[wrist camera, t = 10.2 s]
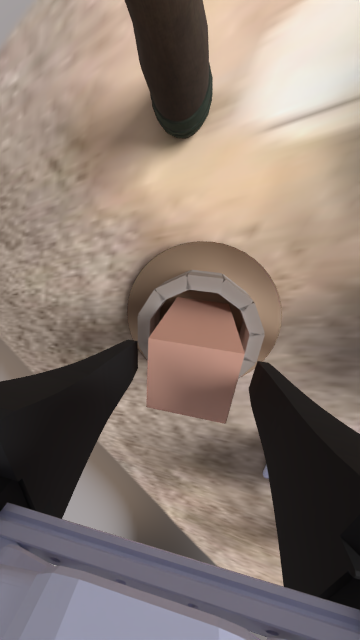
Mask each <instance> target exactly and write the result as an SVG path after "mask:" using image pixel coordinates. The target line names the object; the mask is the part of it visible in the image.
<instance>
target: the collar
mask: <svg viewBox="0 0 360 640" xmlns="http://www.w3.org/2000/svg"><path fill="white" fill-rule="evenodd" d="M177 297H182V298H189V299H197V300H204V301H211V302H219V303H226V304H229V306H230V309H231V312H232V315H233V318H234V322H235V325H236V328H237V331H238V334H239V337H240V340H241V343H242V347H243V350H244V353H245V355H244V359H243V363H242V366H241V370H240V373H239V377H238V379H239V378H240V377H242V376H244V375H245V374H247V373H249V372H250V371H252V370H253V369H255V367H256V364H257V361H260V362H262V361H263V360H264V359H265V358H266V357H267V356H268V354H269V353H270V351H271V350H272V348H273V346H274V345H275V342H276V340H277V338H278V335H279V331H280V327H281V319H282V311H281V302H280V297H279V294H278V291H277V289H276V286H275V284H274V282H273V281H272V279H271V277H270V275H269V274H268V273H267V272H266V270H265V269H264V268H263V267H262V266H261V265H260V264H259V263H258V262H257V261H256V260H255V259H253V258H252V257H250V256H249V255H248V254H246V253H245V252H243V251H241V250H238V249H236V248H234V247H231V246H228V245H225V244H221V243H215V242H191V243H185V244H182V245H178V246H175V247H173V248H170V249H168V250H166V251H164V252H162V253H161V254H159V255H158V256H156V257H155V258H154V259H152V260H151V261H150V262H149V263H148V264H147V265H146V266H145V267H144V268H143V269H142V271H141V272H140V274H139V275H138V277H137V278H136V280H135V282H134V284H133V286H132V289H131V292H130V295H129V300H128V307H127V316H128V324H129V329H130V332H131V335H132V338H133V340H134V341H138V349H139V351H140V352H141V354H142V355H143V356H144V357H145V358H146V360H147V361H148V338H149V337H150V335H151V334H152V332H153V331H154V330H155V328H156V327H157V325H158V324H159V322H160V321H161V320H162V318H163V317H164V315H165V314H166V313H167V311H168V310H169V308H170V307H171V306H172V304H173V303H174V301H175V300H176V298H177Z"/></svg>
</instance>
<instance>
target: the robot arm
mask: <svg viewBox="0 0 360 640" xmlns="http://www.w3.org/2000/svg"><path fill="white" fill-rule="evenodd" d="M137 369H138V341H133V340H126V341H124V342H122V343H119V344H117V345H115V346H113V347H111V348H109V349H107V350H105V351H102V352H100V353H98V354H96V355H93V356H91V357H88V358H86V359H84V360H81V361H79V362H76V363H73V364H70V365H67V366H64V367H61V368H57V369H54V370H50V371H46V372H43V373H39V374H35V375H31V376H26V377H22V378H17V379H12V380H6V381H1V382H0V640H260V639H259V638H257V637H256V636H255V635H253V634H252V633H251V632H253V633H256V634H259V635H262V636H265V637H267V640H360V434H359V433H357V432H356V431H354V430H353V429H351V428H350V427H348V426H347V425H345V424H344V423H342V422H341V421H339V420H338V419H337V418H335V417H334V416H332V415H331V414H330V413H328V412H327V411H325V410H324V409H323V408H321V407H320V406H319V405H317V404H316V403H315V402H314V401H312V400H311V399H310V398H309V397H307V396H306V395H305V394H304V393H303V392H301V391H300V390H299V389H298V388H297V387H296V386H294V385H293V384H292V383H291V382H290V381H289V380H288V379H287V378H285V377H284V376H283V375H282V374H281V373H280V372H279V371H278V370H277V369H275V368H274V367H273V366H272V365H271V364H269V363H266V362H260V361H257V364H256V367H255V370H254V374H253V377H252V380H251V384H250V387H249V394H250V401H251V407H252V410H253V414H254V418H255V421H256V425H257V428H258V432H259V436H260V439H261V443H262V446H263V450H264V455H265V459H266V466H265V468H264V471H263V476H264V477H265V478H268V479H269V481H270V487H271V494H272V500H273V506H274V513H275V520H276V527H277V534H278V542H279V550H280V558H281V567H282V575H283V584H284V587H283V586H279V585H276V584H273V583H270V582H266V581H263V580H260V579H256V578H253V577H250V576H247V575H243V574H240V573H237V572H234V571H230V570H227V569H224V568H220V567H217V566H214V565H211V564H207V563H204V562H201V561H197V560H194V559H191V558H188V557H184V556H181V555H178V554H174V553H171V552H168V551H165V550H161V549H158V548H155V547H152V546H148V545H145V544H142V543H138V542H135V541H132V540H129V539H125V538H122V537H119V536H116V535H112V534H109V533H106V532H102V531H99V530H96V529H93V528H89V527H86V526H83V525H80V524H76V523H73V522H70V521H66V520H63V519H62V517H63V515H64V513H65V510H66V508H67V506H68V503H69V501H70V499H71V496H72V494H73V491H74V489H75V487H76V485H77V482H78V480H79V478H80V476H81V474H82V471H83V469H84V467H85V465H86V463H87V460H88V459H89V456H90V454H91V452H92V450H93V448H94V446H95V444H96V442H97V440H98V438H99V436H100V434H101V432H102V430H103V428H104V426H105V424H106V422H107V420H108V419H109V417H110V415H111V414H112V412H113V410H114V409H115V407H116V406H117V404H118V403H119V401H120V399H121V398H122V396H123V395H124V393H125V392H126V390H127V388H128V387H129V385H130V384H131V382H132V380H133V378H134V375H135V373H136V371H137ZM50 563H51V564H50ZM52 564H54V565H57V566H53V565H52ZM250 631H251V632H250Z"/></svg>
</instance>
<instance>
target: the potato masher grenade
mask: <svg viewBox="0 0 360 640" xmlns="http://www.w3.org/2000/svg"><path fill="white" fill-rule="evenodd" d="M125 2H126V5H127V8H128V11H129V14H130V17H131V20H132V22H133V27H134V33H135V39H136V44H137V50H138V56H139V61H140V65H141V69H142V72H143V74H144V77H145V80H146V82H147V85H148V88H149V90H150V94H151V100H152V106H153V109H154V112H155V115H156V117H157V120H158V121H159V123H160V125H161V126H162V127H163V129H164V130H165V131H166V132H167V133H168V134H170V135H172V136H174V137H177V138H187V137H190V136H192V135H194V134H195V133H196V132H197V131H198V130H199V129H200V127H201V126H202V125H203V123H204V121H205V119H206V117H207V116H208V113H209V109H210V105H211V101H212V74H211V69H210V64H209V50H208V25H207V20H206V15H205V10H204V5H203V0H125Z"/></svg>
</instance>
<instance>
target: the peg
mask: <svg viewBox="0 0 360 640" xmlns="http://www.w3.org/2000/svg"><path fill="white" fill-rule="evenodd" d="M244 355H245V353H244V350H243V347H242V343H241V340H240V337H239V334H238V331H237V328H236V325H235V322H234V318H233V315H232V312H231V309H230V306H229V304H226V303H219V302H211V301H204V300H197V299H189V298H182V297H177V298H176V300H175V301H174V303H173V304H172V306H171V307H170V308H169V310H168V311H167V313H166V314H165V315H164V317H163V318H162V320H161V321H160V322H159V324H158V325H157V327H156V328H155V330H154V331H153V332H152V334H151V335H150V337H149V338H148V372H147V406H146V407H149V408H153V409H158V410H163V411H168V412H172V413H177V414H182V415H187V416H191V417H196V418H201V419H206V420H210V421H215V422H220V423H224V424H226V421H227V417H228V414H229V410H230V406H231V403H232V399H233V395H234V392H235V388H236V384H237V381H238V377H239V373H240V370H241V366H242V363H243V359H244Z"/></svg>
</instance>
